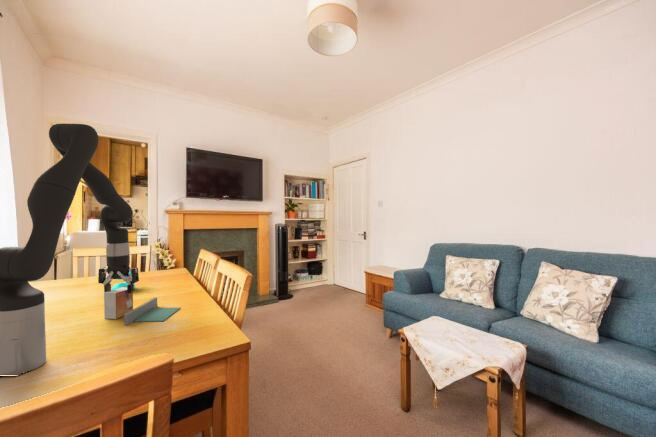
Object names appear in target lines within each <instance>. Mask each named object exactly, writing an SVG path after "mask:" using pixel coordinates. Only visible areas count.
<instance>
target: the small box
mask: <svg viewBox="0 0 656 437" xmlns="http://www.w3.org/2000/svg"><path fill="white" fill-rule="evenodd" d="M103 292H104V291H103ZM103 299H104V300H103V302H104V304H103V308H104V310H103V312H104V319H106V320H107V319H108V320H109V319H110V320H117V319H120V318H122V317H124V315H125V314H126V313H128V312H130V311H132V310H133V309H134V291H133V292H132V293H131V294H128V293H127V287H121V288H118V289H115V290H112V289H111V291H108V292H104V293H103Z"/></svg>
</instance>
